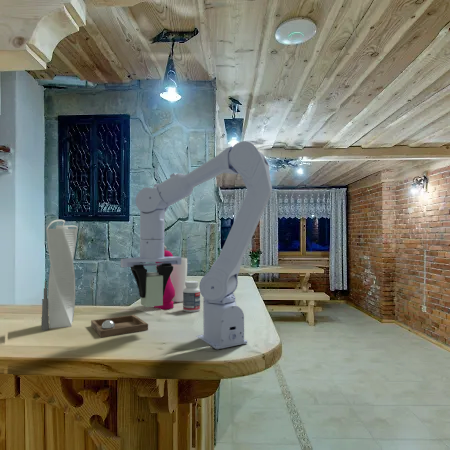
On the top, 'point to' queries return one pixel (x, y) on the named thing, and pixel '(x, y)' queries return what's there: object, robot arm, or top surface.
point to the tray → (120, 325)
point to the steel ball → (108, 325)
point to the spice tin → (153, 290)
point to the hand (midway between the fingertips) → (151, 296)
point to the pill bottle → (191, 297)
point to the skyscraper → (60, 278)
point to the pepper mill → (167, 288)
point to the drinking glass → (179, 279)
